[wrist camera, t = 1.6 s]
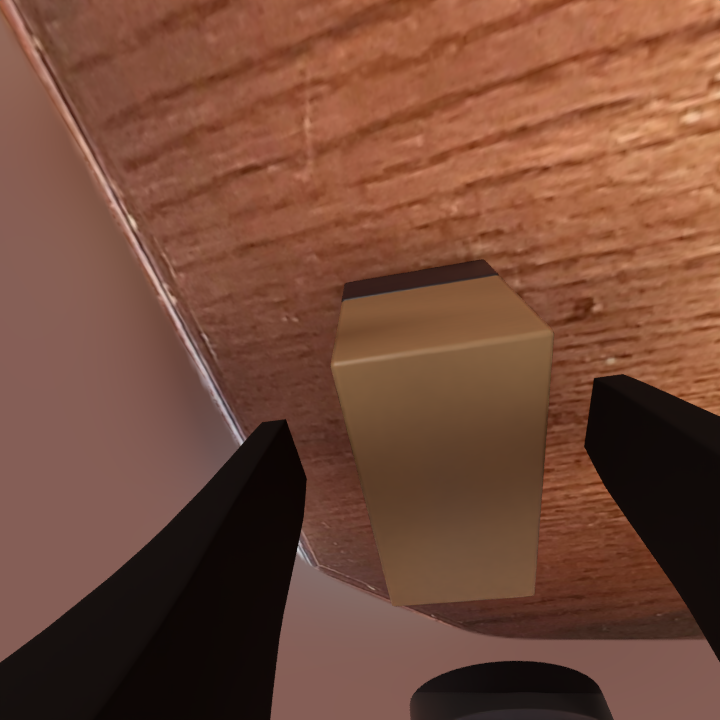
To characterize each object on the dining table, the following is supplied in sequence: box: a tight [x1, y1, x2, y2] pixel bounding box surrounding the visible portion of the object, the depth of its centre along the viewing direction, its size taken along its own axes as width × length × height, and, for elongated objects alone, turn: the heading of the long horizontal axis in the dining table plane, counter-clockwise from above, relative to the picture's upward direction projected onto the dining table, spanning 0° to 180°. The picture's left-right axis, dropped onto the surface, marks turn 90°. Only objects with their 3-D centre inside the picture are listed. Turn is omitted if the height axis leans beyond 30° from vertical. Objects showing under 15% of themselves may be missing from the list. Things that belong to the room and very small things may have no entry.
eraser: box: [330, 260, 554, 606], centre depth 9 cm, size 7×3×4 cm, turn 10°
